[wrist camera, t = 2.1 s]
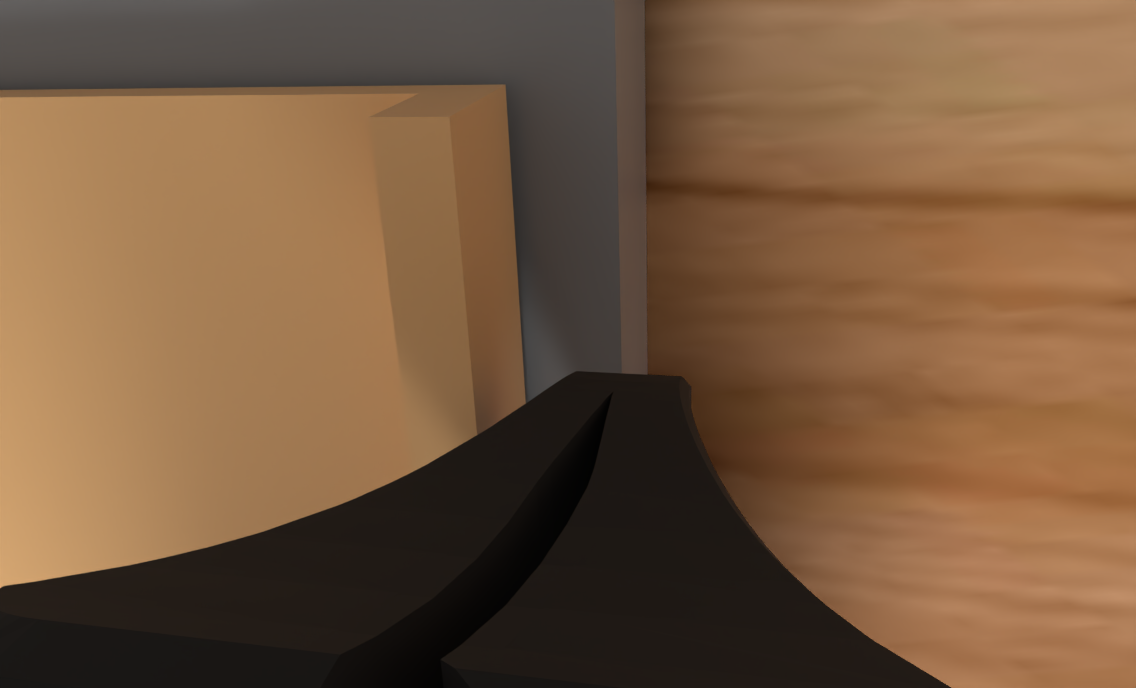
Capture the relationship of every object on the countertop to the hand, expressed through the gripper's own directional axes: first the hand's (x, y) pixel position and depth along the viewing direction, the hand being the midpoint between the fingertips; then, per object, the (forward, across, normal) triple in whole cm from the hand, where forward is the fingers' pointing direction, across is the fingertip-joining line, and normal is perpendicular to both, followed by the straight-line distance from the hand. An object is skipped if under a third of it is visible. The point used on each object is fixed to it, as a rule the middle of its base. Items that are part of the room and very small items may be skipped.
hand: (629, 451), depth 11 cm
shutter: (+1, +6, 0) cm, 6 cm away
